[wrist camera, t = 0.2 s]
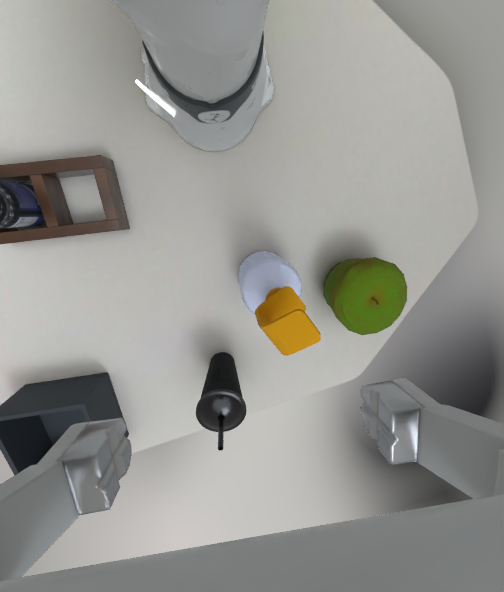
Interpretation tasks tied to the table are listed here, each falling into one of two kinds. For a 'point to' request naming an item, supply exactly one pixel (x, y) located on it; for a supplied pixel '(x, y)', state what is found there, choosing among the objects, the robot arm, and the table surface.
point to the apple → (366, 294)
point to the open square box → (52, 415)
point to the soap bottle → (277, 301)
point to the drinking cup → (221, 397)
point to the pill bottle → (19, 206)
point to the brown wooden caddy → (54, 201)
